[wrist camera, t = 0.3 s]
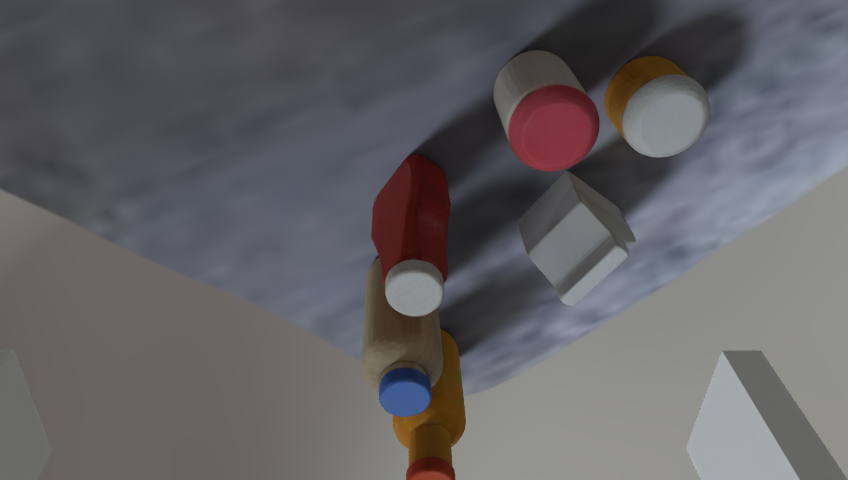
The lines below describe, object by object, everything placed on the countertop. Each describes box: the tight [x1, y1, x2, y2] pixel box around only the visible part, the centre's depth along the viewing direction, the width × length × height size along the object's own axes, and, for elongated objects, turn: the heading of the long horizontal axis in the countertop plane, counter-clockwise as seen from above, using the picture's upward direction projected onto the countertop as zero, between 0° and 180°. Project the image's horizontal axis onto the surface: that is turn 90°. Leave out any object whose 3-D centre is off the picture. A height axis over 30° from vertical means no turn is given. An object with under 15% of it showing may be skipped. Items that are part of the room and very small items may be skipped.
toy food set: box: [362, 50, 710, 480], centre depth 37 cm, size 27×13×12 cm, turn 142°
